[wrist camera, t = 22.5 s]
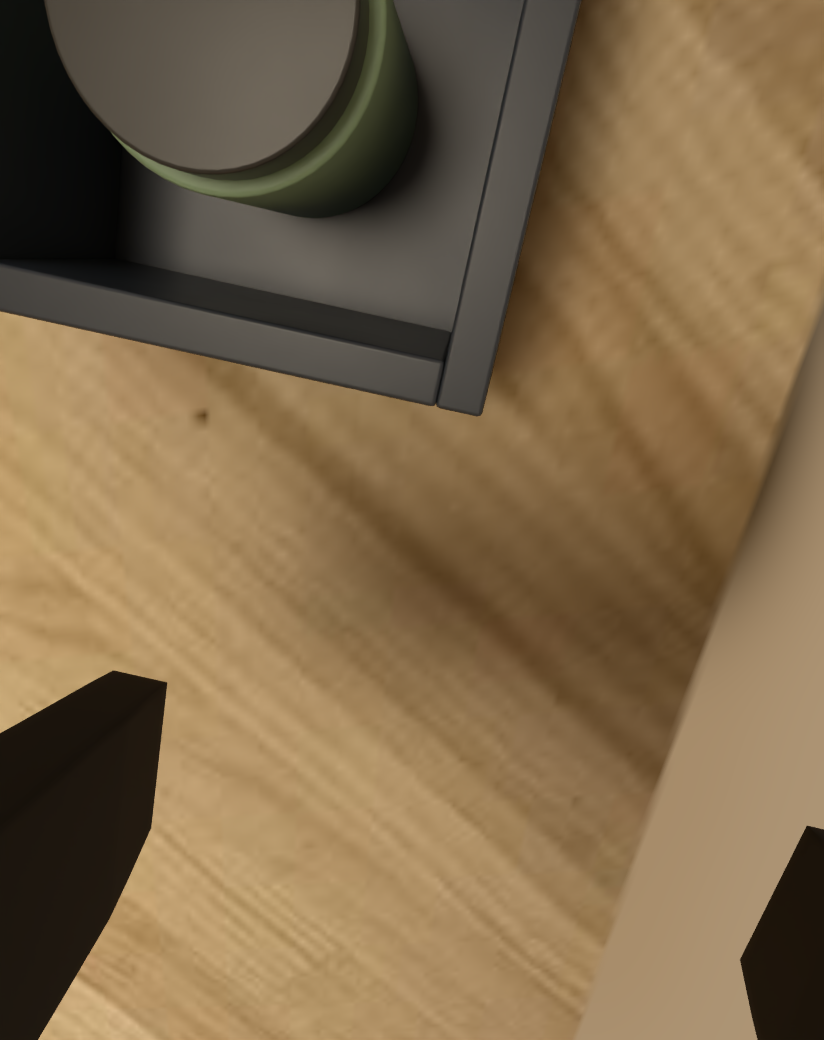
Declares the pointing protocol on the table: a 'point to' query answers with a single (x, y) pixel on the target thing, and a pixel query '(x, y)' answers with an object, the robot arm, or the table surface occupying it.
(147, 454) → the table surface
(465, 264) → the bin
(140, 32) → the green lidded canister
